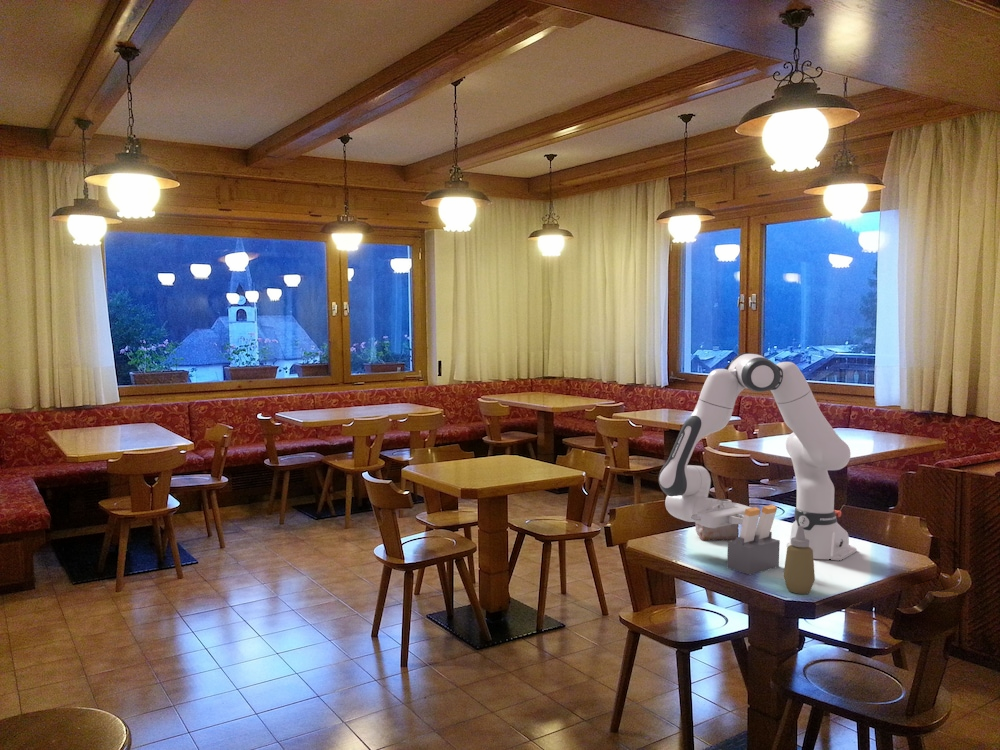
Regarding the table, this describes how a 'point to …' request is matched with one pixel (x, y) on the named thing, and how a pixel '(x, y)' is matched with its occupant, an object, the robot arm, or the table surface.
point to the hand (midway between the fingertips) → (747, 521)
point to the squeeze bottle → (799, 564)
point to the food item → (718, 532)
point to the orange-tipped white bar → (765, 521)
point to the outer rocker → (750, 524)
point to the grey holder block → (753, 554)
